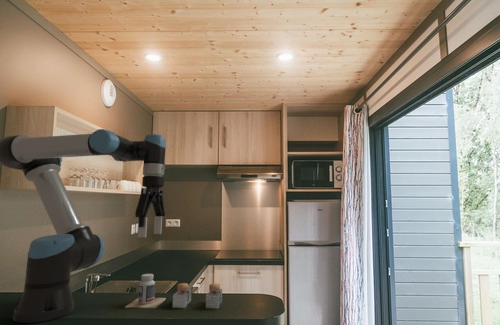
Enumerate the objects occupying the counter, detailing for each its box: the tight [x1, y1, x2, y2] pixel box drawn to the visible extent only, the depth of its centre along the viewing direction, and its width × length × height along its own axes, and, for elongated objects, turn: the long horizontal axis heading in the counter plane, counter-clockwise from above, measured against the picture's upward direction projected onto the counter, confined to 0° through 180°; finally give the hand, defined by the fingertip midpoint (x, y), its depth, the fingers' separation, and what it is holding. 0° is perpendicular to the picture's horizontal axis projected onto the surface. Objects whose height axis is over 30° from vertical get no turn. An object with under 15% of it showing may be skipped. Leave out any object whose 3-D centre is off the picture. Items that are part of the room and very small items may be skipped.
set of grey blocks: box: [172, 287, 223, 310], centre depth 97 cm, size 15×8×4 cm, turn 86°
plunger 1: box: [176, 282, 189, 292], centre depth 97 cm, size 4×4×5 cm
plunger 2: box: [208, 283, 221, 293], centre depth 97 cm, size 4×4×5 cm
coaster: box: [124, 297, 167, 310], centre depth 98 cm, size 10×10×1 cm
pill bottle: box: [137, 273, 156, 304], centre depth 98 cm, size 5×5×9 cm
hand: (150, 235), depth 101 cm, fingers open, 13 cm apart
